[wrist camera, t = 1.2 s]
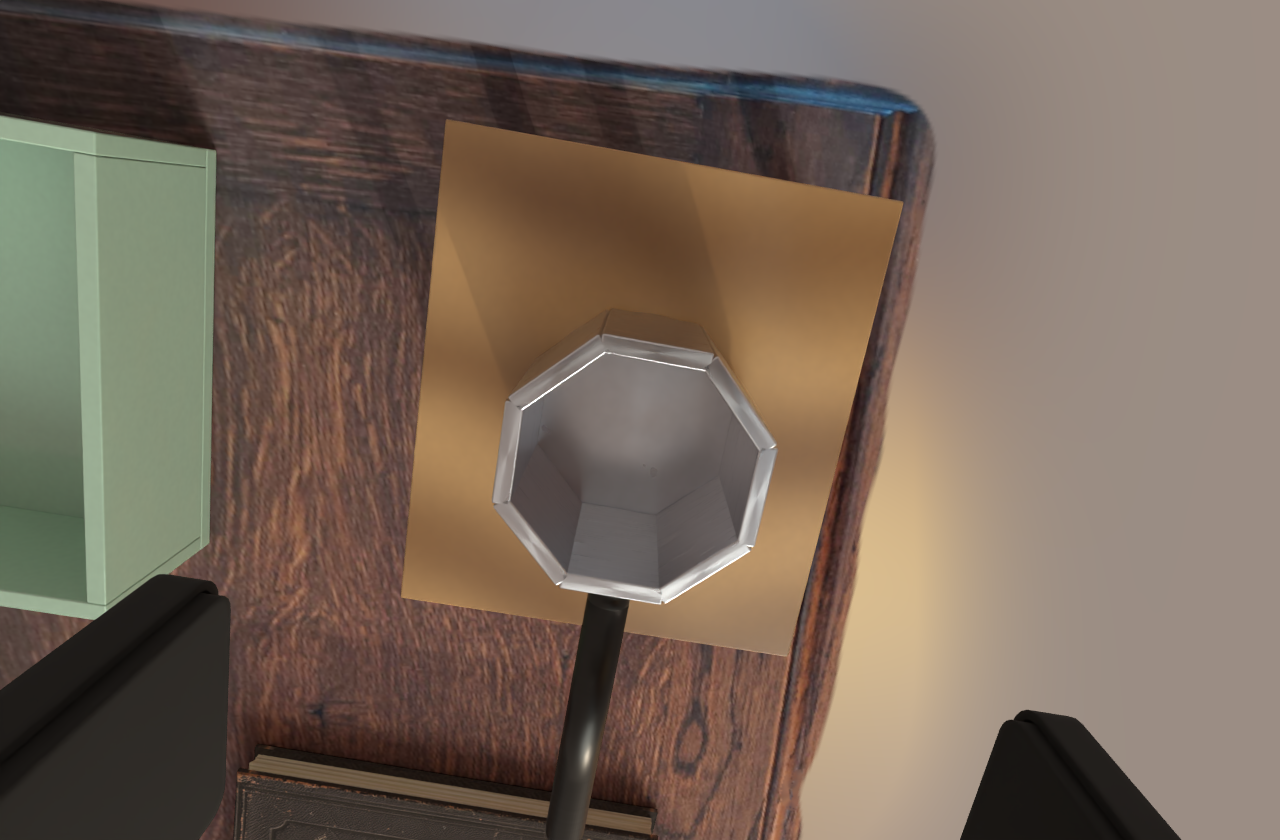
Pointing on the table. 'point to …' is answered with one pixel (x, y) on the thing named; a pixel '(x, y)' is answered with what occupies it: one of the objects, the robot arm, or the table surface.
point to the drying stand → (650, 283)
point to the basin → (102, 362)
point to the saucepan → (626, 494)
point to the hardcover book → (400, 804)
